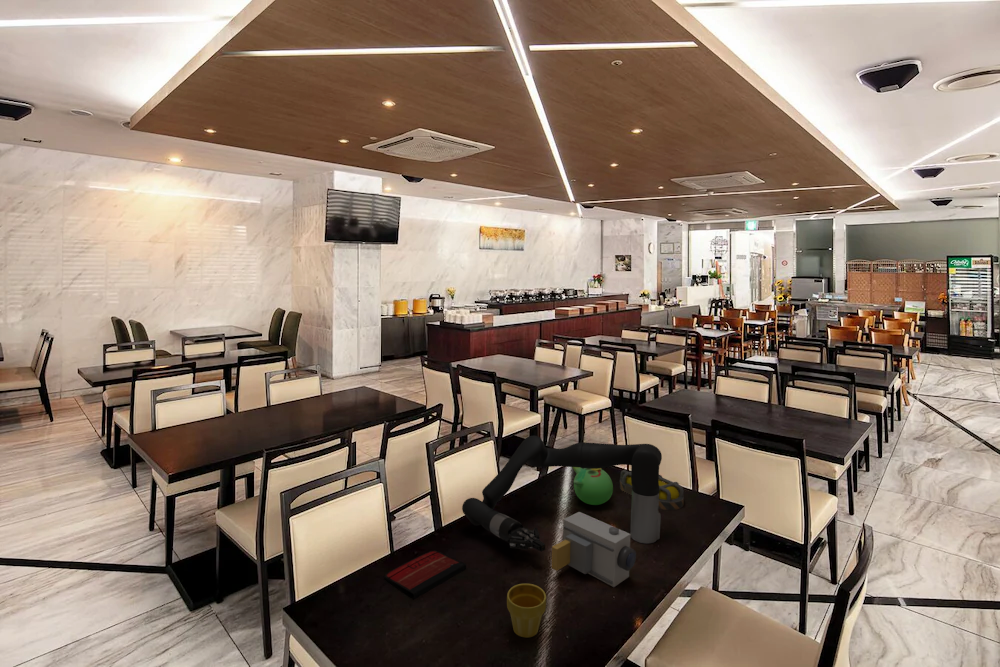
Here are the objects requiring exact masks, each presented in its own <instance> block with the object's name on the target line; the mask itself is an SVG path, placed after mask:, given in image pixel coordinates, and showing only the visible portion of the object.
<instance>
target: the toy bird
mask: <svg viewBox="0 0 1000 667" xmlns="http://www.w3.org/2000/svg"><path fill="white" fill-rule="evenodd" d="M571 468H572V469H573V471H574V472H575V474H576V475H575V476H574V479H573V489H574V492H575V495H576V496H577V498H578V499H579V500H580V501H581V502H583V503H584V504H587V505H590V506H591V505H592V506H599V505H600V506H601V505H602V504H605V503H606V502H608V501H609V500H610V499H611V497H612V495H613V492H614V485H613V481H612V479H611V477H610V475H609V474H608V473H607V472H606V471H605V470H604V469H603V468H598V469H592V468H580V467H571Z"/></svg>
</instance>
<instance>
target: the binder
mask: <svg viewBox="0 0 1000 667" xmlns="http://www.w3.org/2000/svg"><path fill="white" fill-rule="evenodd" d="M465 570H467V563H466V562H462V561H460V560H458V559H456V558H454V557H451V556H449V555H446V554H445V553H442V552H440V551H438V550H429V551H428V552H426V553H423V554H421V555H418V556H415V557H414V558H412V559H410V560H408V561H407V562H404V563H402V564H400V565H399V566H396V567H395V568H393V569H391V570H389V571H387V572H386V573H385V574H384V580H386V581H387V582H388V583H390V584H391V585H393V586H394V587H395V588H397V589H398V591H399V590H400V591H401V592H403V593H404V594H408V593H410V594H412V595H413V600H415V599H417V598H420V596H422V595H424V594H426V593H427V592H429V591H430V590H432V589H434V588H437V587H438V586H439V585H441V584H442V583H444V582H447V581H448V580H449V579H451V578H453V577H454V576H457V575H458V574H460V573H462V572H463V571H465Z"/></svg>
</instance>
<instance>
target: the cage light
mask: <svg viewBox="0 0 1000 667" xmlns="http://www.w3.org/2000/svg"><path fill="white" fill-rule="evenodd" d="M619 489H620V490H621V491H622V492H623V491H624V492H623V493H625V492H626V493H625V494H627V493H628V494H627V495H629V494H630V495H629V496H631V495H632V483H631V471H628V470H626V469H623V470H621V471H620V477H619ZM684 494H685V491H684V488H683V486H682V485H681V484H680V483H679V482H678V481H672V480H670V479H667V478H664V477H663V476H662V475H661V474H659V506H658V510H659V509H660V510H664V511H665V510H666V511H675V510H679V509H681V508H683V507H684V500H685V498H684V497H685V496H684Z"/></svg>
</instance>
